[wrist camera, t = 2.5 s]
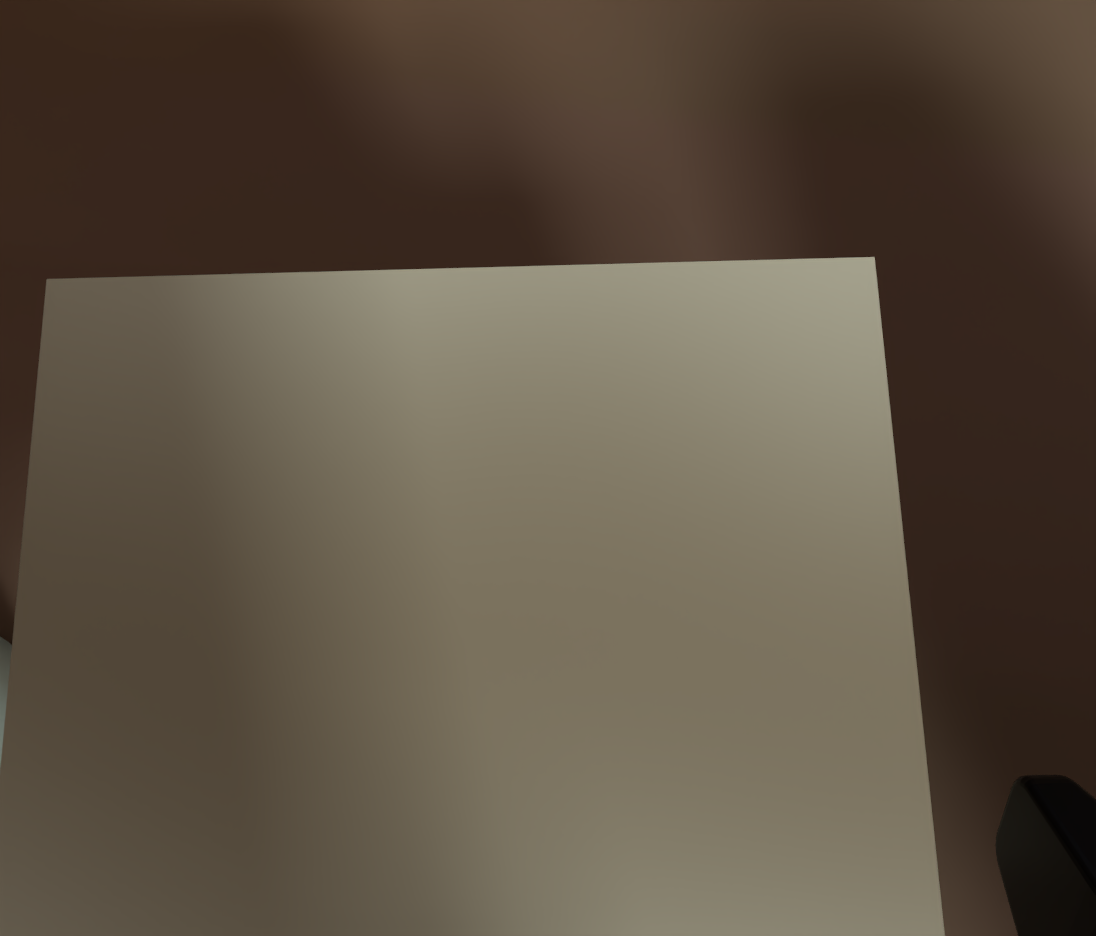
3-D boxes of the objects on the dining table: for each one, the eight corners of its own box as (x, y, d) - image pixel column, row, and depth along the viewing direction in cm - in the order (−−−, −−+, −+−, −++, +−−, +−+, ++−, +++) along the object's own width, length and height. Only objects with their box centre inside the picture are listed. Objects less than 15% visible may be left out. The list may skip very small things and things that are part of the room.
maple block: (670, 837, 17) (972, 1200, 5) (398, 843, 17) (-44, 1222, 5) (657, 567, 18) (874, 256, 6) (401, 573, 18) (46, 279, 6)
